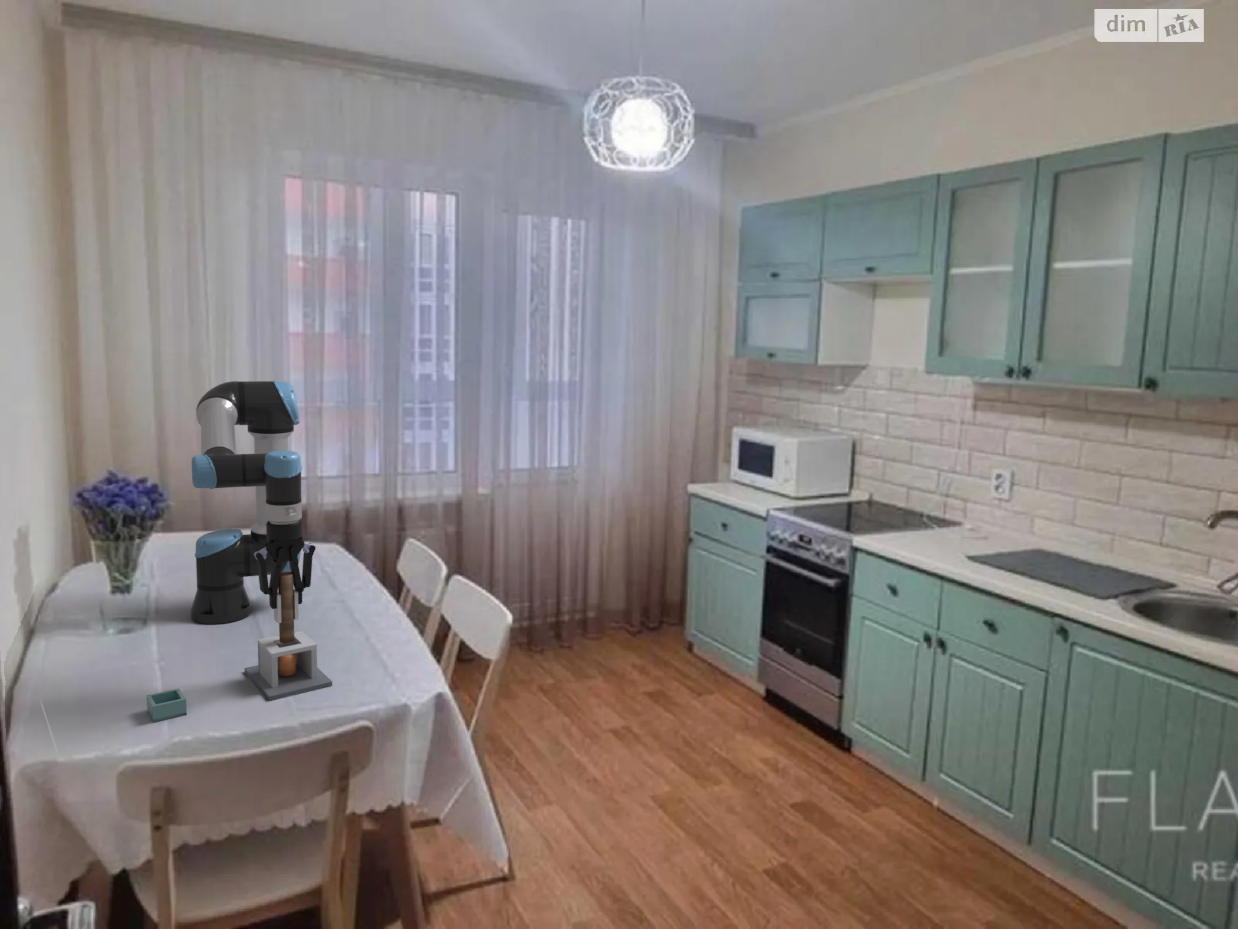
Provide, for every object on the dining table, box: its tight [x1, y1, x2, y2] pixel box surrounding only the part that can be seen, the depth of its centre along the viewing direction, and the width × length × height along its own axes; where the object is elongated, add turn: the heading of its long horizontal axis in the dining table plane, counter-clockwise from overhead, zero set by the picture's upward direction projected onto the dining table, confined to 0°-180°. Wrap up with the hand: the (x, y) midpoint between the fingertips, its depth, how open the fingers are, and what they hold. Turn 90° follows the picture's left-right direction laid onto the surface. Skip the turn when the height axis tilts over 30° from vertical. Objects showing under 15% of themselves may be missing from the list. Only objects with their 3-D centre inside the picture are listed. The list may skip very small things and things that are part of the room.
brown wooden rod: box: [278, 572, 295, 643], centre depth 196 cm, size 3×3×16 cm
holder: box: [146, 687, 188, 723], centre depth 180 cm, size 6×6×4 cm
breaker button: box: [279, 653, 297, 676], centre depth 198 cm, size 4×4×4 cm
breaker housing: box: [244, 630, 333, 702], centre depth 198 cm, size 18×14×9 cm
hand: (286, 619), depth 196 cm, fingers closed on brown wooden rod, 3 cm apart
